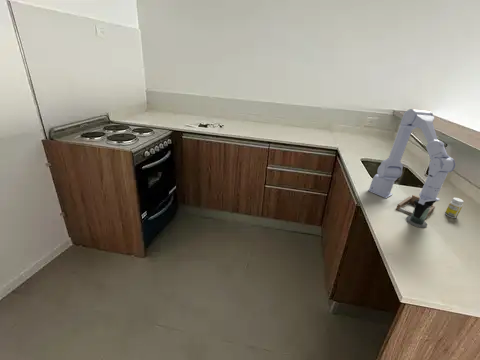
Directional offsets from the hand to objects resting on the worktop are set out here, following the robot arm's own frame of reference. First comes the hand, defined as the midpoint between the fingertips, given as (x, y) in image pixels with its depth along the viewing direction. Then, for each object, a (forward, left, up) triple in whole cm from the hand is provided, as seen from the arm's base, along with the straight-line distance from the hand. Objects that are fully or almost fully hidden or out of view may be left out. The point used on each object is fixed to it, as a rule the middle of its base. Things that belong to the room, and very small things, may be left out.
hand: (419, 214), depth 116 cm
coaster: (0, 0, -4) cm, 4 cm away
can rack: (-4, +12, -4) cm, 13 cm away
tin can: (0, 0, -3) cm, 3 cm away
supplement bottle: (+8, +23, -4) cm, 25 cm away
